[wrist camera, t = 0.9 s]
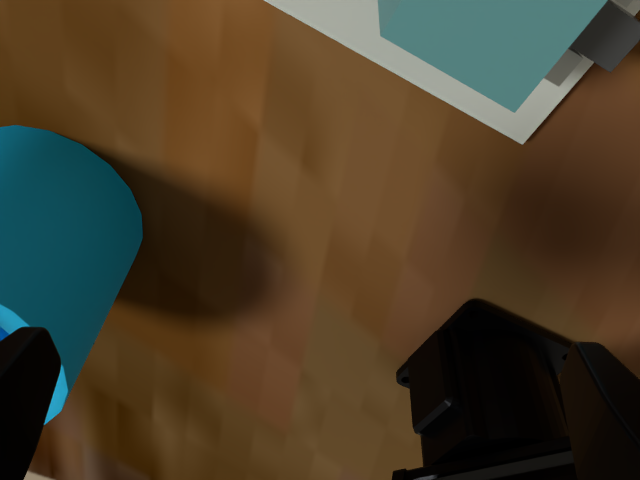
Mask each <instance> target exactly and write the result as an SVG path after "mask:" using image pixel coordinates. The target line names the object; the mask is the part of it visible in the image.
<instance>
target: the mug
mask: <svg viewBox="0 0 640 480" xmlns="http://www.w3.org/2000/svg"><path fill="white" fill-rule="evenodd" d="M142 239H143V229H142V214H141V212H140V210H139V207H138V205H137V203H136V201H135V198H134V196H133V194H132V191H131V189H130V188H129V187H128V186H127V185H126V183H125V182H124V181H123V180H122V179H121V177H120V176H119V175H118V174H117V173H116V171H115V170H114V169H113V168H112V167H111V165H109V164H108V163H107V162H105V161H104V160H103V159H101V158H100V157H98V156H97V155H96V154H94V153H93V152H92V151H90V150H89V149H88V148H86V147H85V146H83V145H82V144H80V143H77V142H75V141H73V140H70V139H68V138H65V137H63V136H61V135H58V134H56V133H54V132H51V131H49V130H42V129H36V128H30V127H24V126H17V125H14V126H6V127H0V341H1V340H3V339H4V338H5V337H7V336H8V335H10V334H11V333H12V332H14V331H15V330H17V329H18V328H21V327H25V326H30V327H44V328H46V329H47V330H48V331H49V333H50V335H51V337H52V340H53V342H54V344H55V346H56V348H57V351H58V353H59V355H60V358H61V370H60V374H59V377H58V381H57V384H56V387H55V391H54V394H53V397H52V400H51V404H50V407H49V410H48V413H47V417H46V420H45V423H44V425H45V424H46V423H47V422H48V421H50V420H51V419H52V418H53V417H55V416H56V415H57V414H58V413H60V412H61V410H62V408H63V406H64V404H65V402H66V400H67V398H68V396H69V394H70V392H71V390H72V388H73V385H74V383H75V381H76V379H77V377H78V375H79V373H80V371H81V369H82V367H83V365H84V363H85V361H86V359H87V356H88V354H89V352H90V350H91V348H92V346H93V344H94V342H95V340H96V338H97V336H98V334H99V332H100V330H101V328H102V325H103V323H104V321H105V319H106V317H107V315H108V313H109V311H110V309H111V307H112V305H113V303H114V301H115V299H116V297H117V294H118V292H119V290H120V288H121V286H122V284H123V282H124V280H125V278H126V276H127V274H128V272H129V270H130V268H131V266H132V263H133V261H134V259H135V257H136V255H137V252H138V250H139V247H140V244H141V242H142Z"/></svg>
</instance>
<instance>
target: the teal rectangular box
mask: <svg viewBox="0 0 640 480" xmlns="http://www.w3.org/2000/svg"><path fill="white" fill-rule="evenodd" d="M607 1H608V0H378V12H379V26H380V36H381V37H383V38H385V39H386V40H388V41H390V42H391V43H393V44H395V45H397V46H398V47H400V48H402V49H404V50H405V51H407V52H409V53H411V54H412V55H414V56H416V57H418V58H419V59H421V60H423V61H425V62H426V63H428V64H430V65H432V66H433V67H435V68H437V69H439V70H440V71H442V72H444V73H446V74H447V75H449V76H451V77H453V78H454V79H456V80H458V81H460V82H461V83H463V84H465V85H466V86H468V87H470V88H472V89H473V90H475V91H477V92H479V93H480V94H482V95H484V96H486V97H487V98H489V99H491V100H493V101H494V102H496V103H498V104H500V105H501V106H503V107H505V108H507V109H508V110H510V111H512V112H514V113H515V112H516V111H517V110H518V109H519V107H520V106H521V105H522V104H523V102H524V101H525V100H526V99H527V98H528V96H529V95H530V94H531V93H532V92H533V90H534V89H535V88H536V87H537V86H538V84H539V83H540V82H541V81H542V79H543V78H544V77H545V76H546V75H547V73H548V72H549V71H550V70H551V69H552V67H553V66H554V65H555V64H556V63H557V61H558V60H559V59H560V58H561V56H562V55H563V54H564V53H565V52H566V50H567V49H568V48H569V47H570V46H571V44H572V43H573V42H574V41H575V40H576V38H577V37H578V36H579V35H580V33H581V32H582V31H583V30H584V29H585V27H586V26H587V25H588V24H589V23H590V21H591V20H592V19H593V18H594V17H595V15H596V14H597V13H598V12H599V10H600V9H601V8H602V7H603V6H604V4H605V3H606V2H607Z"/></svg>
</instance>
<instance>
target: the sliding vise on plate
mask: <svg viewBox="0 0 640 480" xmlns="http://www.w3.org/2000/svg"><path fill="white" fill-rule="evenodd" d="M264 1H266V2H268V3H270V4H271V5H273V6H275V7H277V8H278V9H280V10H282V11H284V12H286V13H287V14H289V15H291V16H293V17H295V18H296V19H298V20H300V21H302V22H304V23H305V24H307V25H309V26H311V27H312V28H314V29H316V30H318V31H320V32H321V33H323V34H325V35H327V36H329V37H330V38H332V39H334V40H336V41H338V42H339V43H341V44H343V45H345V46H347V47H348V48H350V49H352V50H354V51H355V52H357V53H359V54H361V55H363V56H364V57H366V58H368V59H370V60H372V61H373V62H375V63H377V64H379V65H381V66H382V67H384V68H386V69H388V70H390V71H391V72H393V73H395V74H397V75H398V76H400V77H402V78H404V79H406V80H407V81H409V82H411V83H413V84H415V85H416V86H418V87H420V88H422V89H424V90H425V91H427V92H429V93H431V94H432V95H434V96H436V97H438V98H440V99H441V100H443V101H445V102H447V103H449V104H450V105H452V106H454V107H456V108H458V109H459V110H461V111H463V112H465V113H467V114H468V115H470V116H472V117H474V118H475V119H477V120H479V121H481V122H483V123H484V124H486V125H488V126H490V127H492V128H493V129H495V130H497V131H499V132H501V133H502V134H504V135H506V136H508V137H510V138H511V139H513V140H515V141H517V142H518V143H520V144H522V145H523V144H524V142H525V141H526V140H527V139H528V138H529V137H530V136H531V134H532V133H533V132H534V131H535V130H536V129H537V128H538V126H539V125H540V124H541V123H542V122H543V121H544V119H545V118H546V117H547V116H548V115H549V114H550V113H551V111H552V110H553V109H554V108H555V107H556V106H557V105H558V103H559V102H560V101H561V100H562V99H563V98H564V96H565V95H566V94H567V93H568V92H569V91H570V90H571V88H572V87H573V86H574V85H575V84H576V83H577V82H578V80H579V79H580V78H581V77H582V76H583V75H584V73H585V72H586V71H587V70H588V69H589V68H590V67H591V65H592V64H593V63H594V62H595V63H596V64H598V65H599V66H601V67H602V68H604V69H606V70H607V71H609V72H610V73H611V71H612V70H613V69H614V68H615V67H616V66H617V65H618V64H619V63H620V61H621V60H622V59H623V58H624V57H625V56H626V55H627V54H628V53H629V51H630V50H631V49H632V48H633V47H634V46H635V45H636V44H637V43H638V41H639V40H640V21H639V20H638V19H637V18H635V17H634V16H635V15H636V14H637V13H638V11H639V10H640V0H608V1H607V2H606V3H605V4H604V6H603V7H602V8H601V9H600V10H599V12H598V13H597V14H596V15H595V17H594V18H593V19H592V20H591V21H590V23H589V24H588V25H587V26H586V27H585V29H584V30H583V31H582V32H581V33H580V35H579V36H578V37H577V38H576V40H575V41H574V42H573V43H572V44H571V46H570V47H569V48H568V49H567V50H566V52H565V53H564V54H563V55H562V56H561V58H560V59H559V60H558V61H557V63H556V64H555V65H554V66H553V67H552V69H551V70H550V71H549V72H548V73H547V75H546V76H545V77H544V78H543V79H542V81H541V82H540V83H539V84H538V86H537V87H536V88H535V89H534V90H533V92H532V93H531V94H530V95H529V96H528V98H527V99H526V100H525V101H524V102H523V104H522V105H521V106H520V107H519V109H518V110H517V111H516V112H515V113H514V112H512V111H510V110H508V109H507V108H505V107H503V106H501V105H500V104H498V103H496V102H494V101H493V100H491V99H489V98H487V97H486V96H484V95H482V94H480V93H479V92H477V91H475V90H473V89H472V88H470V87H468V86H466V85H465V84H463V83H461V82H460V81H458V80H456V79H454V78H453V77H451V76H449V75H447V74H446V73H444V72H442V71H440V70H439V69H437V68H435V67H433V66H432V65H430V64H428V63H426V62H425V61H423V60H421V59H419V58H418V57H416V56H414V55H412V54H411V53H409V52H407V51H405V50H404V49H402V48H400V47H398V46H397V45H395V44H393V43H391V42H390V41H388V40H386V39H385V38H383V37H381V36H380V26H379V12H378V0H264Z"/></svg>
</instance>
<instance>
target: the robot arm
mask: <svg viewBox="0 0 640 480" xmlns="http://www.w3.org/2000/svg"><path fill="white" fill-rule="evenodd" d="M471 311H475V312H471ZM60 370H61V358H60V355H59V353H58V351H57V348H56V346H55V344H54V342H53V340H52V337H51V335H50V333H49V331H48V330H47V329H46V328H44V327H30V326H25V327H21V328H18V329H17V330H15V331H14V332H12V333H11V334H10V335H8V336H7V337H5V338H4V339H3V340H1V341H0V480H23V479H24V477H25V475H26V473H27V470H28V468H29V466H30V463H31V461H32V458H33V456H34V453H35V451H36V448H37V445H38V442H39V439H40V436H41V433H42V430H43V426H44V423H45V420H46V417H47V413H48V410H49V407H50V404H51V400H52V397H53V394H54V391H55V387H56V384H57V381H58V377H59V374H60ZM559 373H561V377H560V384H559V381H558V378H557V375H558V374H559ZM396 380H397V383H398V384H400V385H402V386H404V387H407V388H409V389H410V399H411V411H412V424H413V429H414V432H415V433H416V434H419V435H421V446H422V457H423V467H420V468H416V469H411V470H406V469H400V470H396V471H393V475H392V480H640V380H639V379H638V378H637V377H636V376H635V375H634V374H633V373H632V372H631V371H630V370H629V369H628V368H626V367H625V366H624V365H623V364H622V363H621V362H620V361H619V360H618V359H617V358H616V357H615V356H614V355H613V354H611V353H610V352H609V351H608V350H607V349H606V348H605V347H604V346H603V345H601V344H599V343H596V342H574V343H573V344H570V343H568V342H566V341H564V340H562V339H559V338H557V337H555V336H553V335H551V334H549V333H546V332H544V331H542V330H540V329H538V328H536V327H533V326H531V325H529V324H527V323H525V322H523V321H520V320H518V319H516V318H514V317H512V316H509V315H507V314H505V313H503V312H501V311H499V310H496V309H494V308H492V307H490V306H488V305H486V304H483V303H481V302H479V301H468V302H466V303H465V304H463V305H462V306H461V307H460V308H459V309H458V310H457V311H456V312H455V313H454V314H453V315H452V316H451V317H450V318H449V319H448V320H447V321H446V322H445V323H444V324H443V325H442V326H441V327H440V328H439V329H438V330H437V331H435V332H434V333H433V334H432V335H431V336H430V337H429V338H428V339H427V340H426V341H425V342H424V343H423V344H422V345H421V346H420V347H419V348H418V349H417V350H416V351H415V352H414V353H413V354H412V355H411V356H410V357H409V358H408V360H407V361H406V362H405V363H404V364H403V365H402V366H401V367H400V368H399V369H398V370H397V372H396Z"/></svg>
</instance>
